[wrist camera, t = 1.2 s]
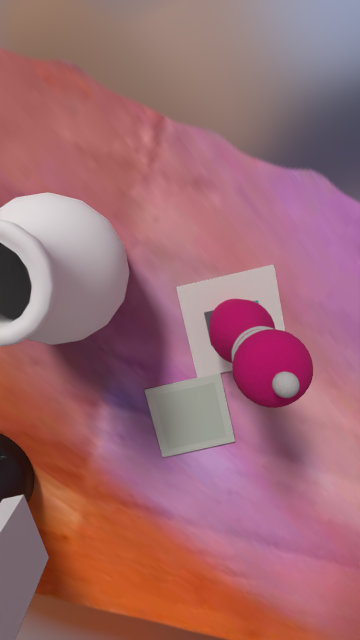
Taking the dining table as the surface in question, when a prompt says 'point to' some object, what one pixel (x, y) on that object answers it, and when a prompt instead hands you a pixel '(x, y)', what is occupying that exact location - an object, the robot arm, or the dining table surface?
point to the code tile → (209, 294)
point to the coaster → (190, 415)
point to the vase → (57, 270)
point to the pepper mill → (260, 353)
